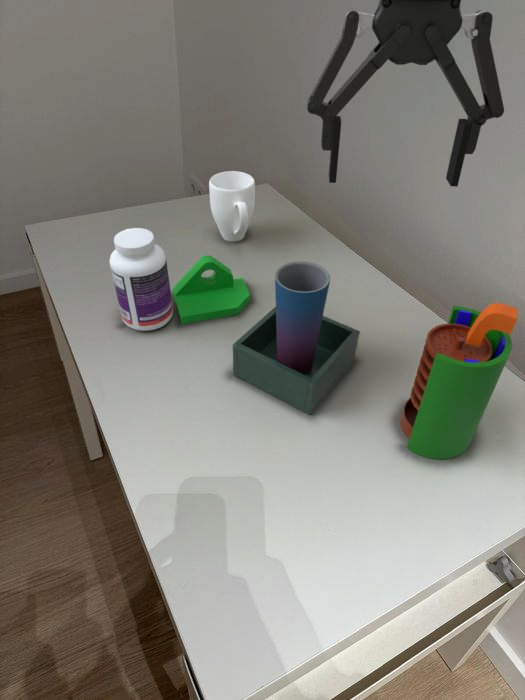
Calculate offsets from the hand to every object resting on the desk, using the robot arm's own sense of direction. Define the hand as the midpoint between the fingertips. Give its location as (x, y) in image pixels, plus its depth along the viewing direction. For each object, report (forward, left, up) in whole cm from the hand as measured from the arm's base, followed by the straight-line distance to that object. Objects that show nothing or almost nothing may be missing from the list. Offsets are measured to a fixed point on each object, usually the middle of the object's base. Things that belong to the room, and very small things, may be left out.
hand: (391, 180), depth 59 cm
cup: (+6, +9, -26) cm, 28 cm away
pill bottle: (+31, +13, -27) cm, 43 cm away
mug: (+34, -14, -27) cm, 45 cm away
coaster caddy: (-15, +8, -27) cm, 31 cm away
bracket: (+25, +4, -27) cm, 36 cm away
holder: (+6, +9, -26) cm, 28 cm away
